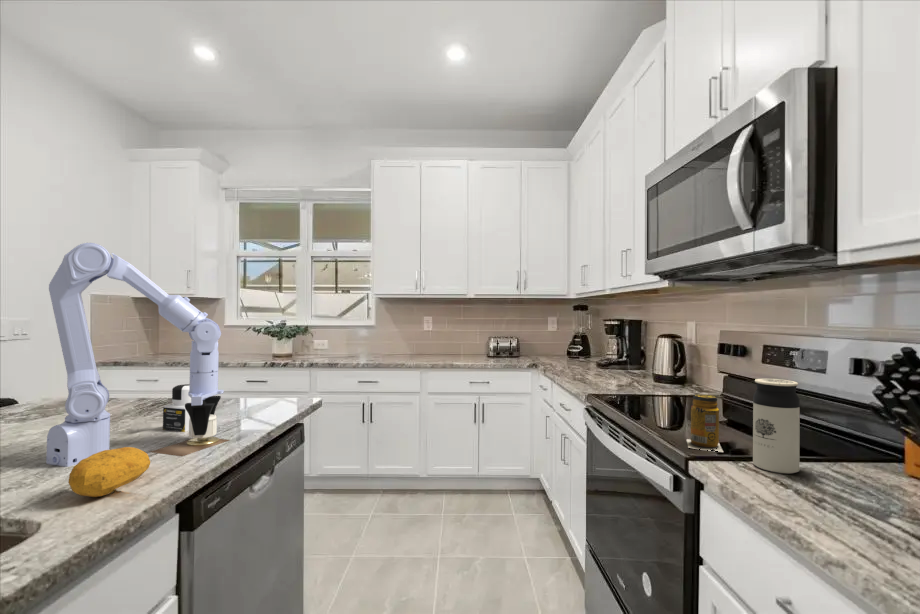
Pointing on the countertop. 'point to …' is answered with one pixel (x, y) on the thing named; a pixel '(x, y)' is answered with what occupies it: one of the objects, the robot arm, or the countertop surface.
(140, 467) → the potato
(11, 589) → the countertop surface
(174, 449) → the board
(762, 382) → the travel mug
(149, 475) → the countertop surface
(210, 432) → the cap
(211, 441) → the knob
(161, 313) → the robot arm
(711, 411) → the condiment
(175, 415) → the medicine bottle
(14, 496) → the countertop surface
